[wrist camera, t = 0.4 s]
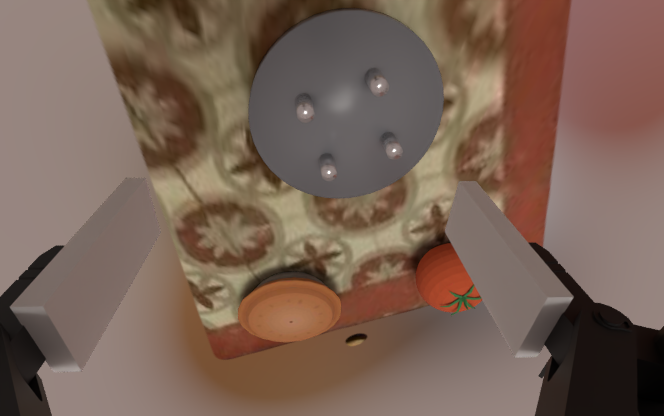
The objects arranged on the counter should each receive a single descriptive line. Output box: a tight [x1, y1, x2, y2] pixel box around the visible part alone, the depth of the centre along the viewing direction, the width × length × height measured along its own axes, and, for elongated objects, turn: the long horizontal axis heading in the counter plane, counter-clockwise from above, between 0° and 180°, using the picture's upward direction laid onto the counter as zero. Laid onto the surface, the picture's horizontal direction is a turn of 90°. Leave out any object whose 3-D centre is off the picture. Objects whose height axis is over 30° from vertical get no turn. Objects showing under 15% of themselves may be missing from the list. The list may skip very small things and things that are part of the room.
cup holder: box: [249, 8, 444, 198], centre depth 35 cm, size 20×20×4 cm
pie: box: [238, 272, 341, 342], centre depth 53 cm, size 15×16×5 cm
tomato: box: [416, 243, 482, 315], centre depth 49 cm, size 10×10×10 cm
